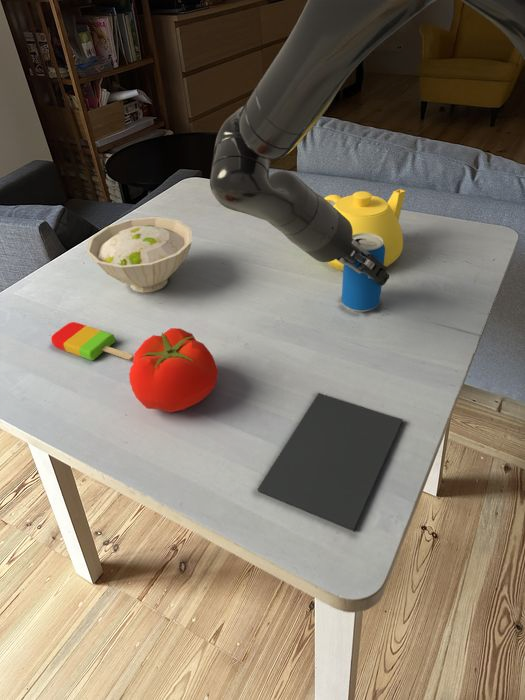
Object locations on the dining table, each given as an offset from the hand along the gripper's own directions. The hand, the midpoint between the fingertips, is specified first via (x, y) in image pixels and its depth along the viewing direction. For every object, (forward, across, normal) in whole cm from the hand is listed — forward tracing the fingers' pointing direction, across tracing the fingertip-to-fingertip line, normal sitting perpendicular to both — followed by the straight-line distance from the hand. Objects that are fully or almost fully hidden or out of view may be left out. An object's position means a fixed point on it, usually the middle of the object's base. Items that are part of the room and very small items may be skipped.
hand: (369, 271), depth 90 cm
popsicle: (-27, +16, +35) cm, 47 cm away
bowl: (-16, +30, +24) cm, 41 cm away
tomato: (-22, -1, +31) cm, 38 cm away
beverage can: (+3, 0, +5) cm, 6 cm away
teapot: (+12, +14, -3) cm, 19 cm away
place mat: (-15, -23, +23) cm, 36 cm away
